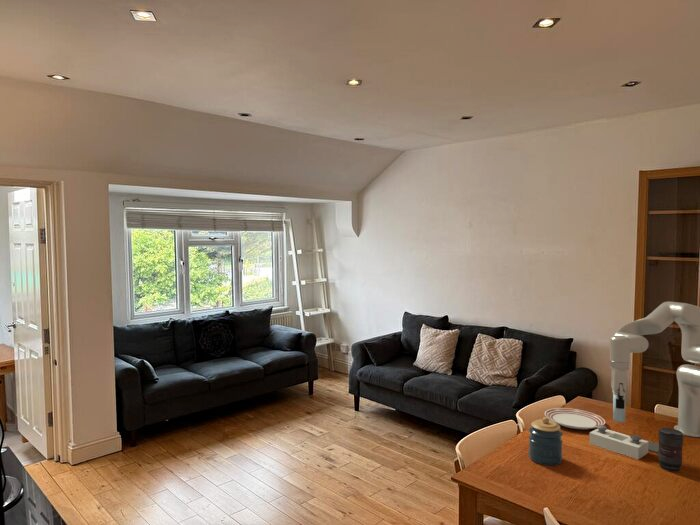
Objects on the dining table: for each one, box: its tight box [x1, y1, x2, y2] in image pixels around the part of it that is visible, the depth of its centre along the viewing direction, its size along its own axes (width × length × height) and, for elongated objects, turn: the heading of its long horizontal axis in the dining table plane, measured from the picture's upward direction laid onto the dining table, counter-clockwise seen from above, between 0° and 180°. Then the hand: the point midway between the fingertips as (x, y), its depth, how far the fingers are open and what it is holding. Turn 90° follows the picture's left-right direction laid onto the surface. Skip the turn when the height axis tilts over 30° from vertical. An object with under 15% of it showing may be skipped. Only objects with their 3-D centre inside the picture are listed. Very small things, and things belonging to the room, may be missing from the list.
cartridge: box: [612, 390, 627, 423], centre depth 209 cm, size 5×5×13 cm
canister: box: [528, 416, 564, 466], centre depth 200 cm, size 13×13×18 cm
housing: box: [588, 428, 649, 460], centre depth 210 cm, size 20×10×5 cm, turn 37°
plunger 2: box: [629, 434, 642, 444], centre depth 204 cm, size 4×4×6 cm
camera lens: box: [657, 427, 684, 473], centre depth 191 cm, size 8×8×15 cm
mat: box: [644, 439, 659, 454], centre depth 211 cm, size 9×9×1 cm
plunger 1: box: [596, 424, 608, 434], centre depth 216 cm, size 4×4×6 cm
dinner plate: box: [544, 407, 606, 430], centre depth 240 cm, size 28×27×3 cm
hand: (619, 405), depth 209 cm, fingers closed on cartridge, 4 cm apart
